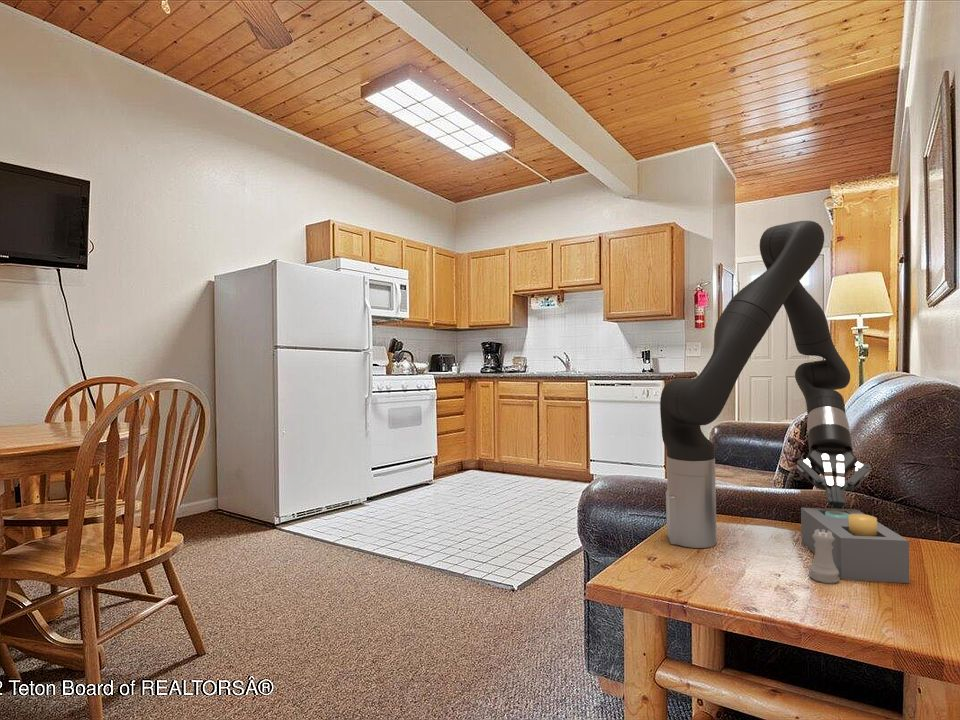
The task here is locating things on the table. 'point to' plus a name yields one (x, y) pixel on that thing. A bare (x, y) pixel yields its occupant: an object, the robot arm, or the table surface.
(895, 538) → the console
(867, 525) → the amber button
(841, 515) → the teal button
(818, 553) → the rook chess piece
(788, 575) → the table surface
